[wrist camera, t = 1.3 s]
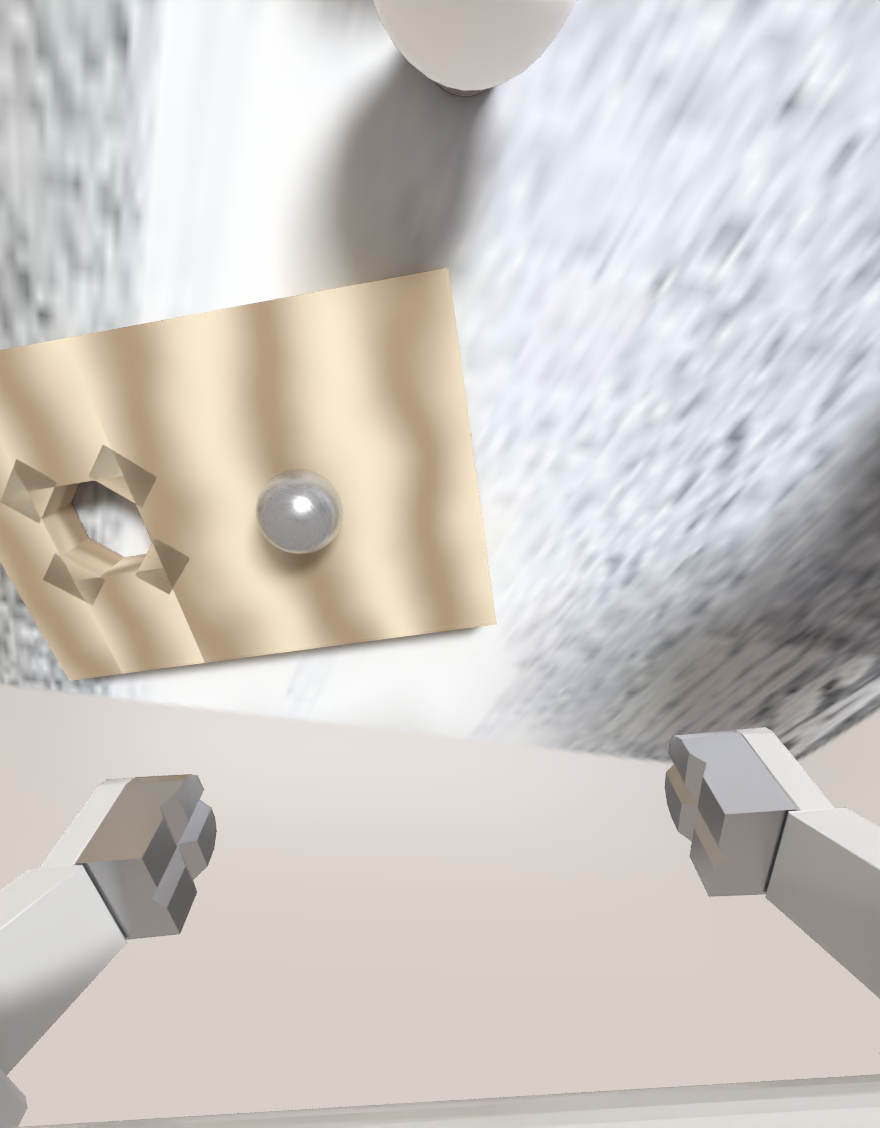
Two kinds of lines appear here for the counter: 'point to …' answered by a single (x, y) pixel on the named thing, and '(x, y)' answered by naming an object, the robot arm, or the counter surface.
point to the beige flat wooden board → (246, 478)
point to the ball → (299, 511)
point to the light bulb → (472, 37)
